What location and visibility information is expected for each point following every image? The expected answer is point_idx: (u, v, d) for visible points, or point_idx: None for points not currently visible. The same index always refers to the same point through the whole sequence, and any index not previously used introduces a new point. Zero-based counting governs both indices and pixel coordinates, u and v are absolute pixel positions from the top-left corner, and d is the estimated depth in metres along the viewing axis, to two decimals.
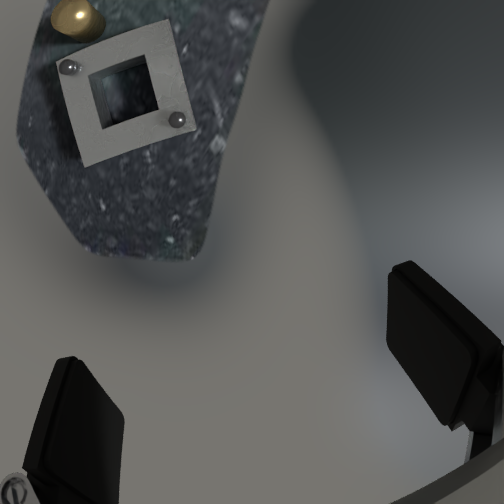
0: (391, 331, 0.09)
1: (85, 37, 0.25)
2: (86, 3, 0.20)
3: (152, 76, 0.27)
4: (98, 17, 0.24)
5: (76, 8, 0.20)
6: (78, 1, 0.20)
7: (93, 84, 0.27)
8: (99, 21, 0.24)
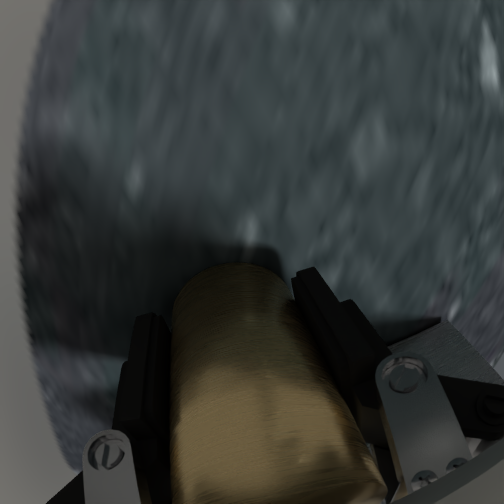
0: None
1: None
2: (383, 493, 0.04)
3: None
4: None
5: None
6: (345, 499, 0.04)
7: None
8: None
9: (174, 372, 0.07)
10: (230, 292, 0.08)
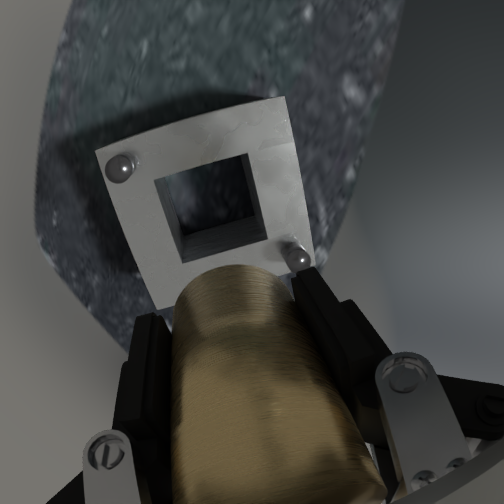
0: None
1: None
2: (383, 494, 0.04)
3: (259, 190, 0.20)
4: None
5: None
6: (345, 500, 0.04)
7: (160, 189, 0.21)
8: None
9: (175, 374, 0.07)
10: (231, 294, 0.08)
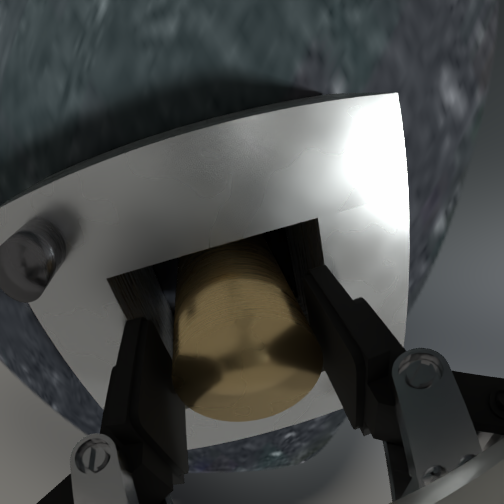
0: None
1: None
2: (318, 351, 0.08)
3: None
4: None
5: (279, 365, 0.08)
6: (286, 342, 0.08)
7: (127, 283, 0.10)
8: None
9: (179, 280, 0.11)
10: None
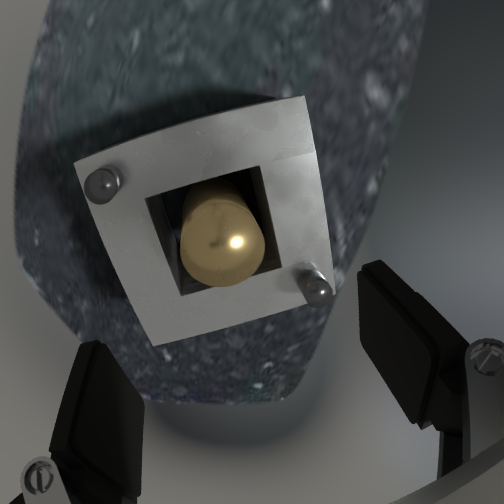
0: (363, 329, 0.09)
1: None
2: (260, 234, 0.15)
3: (273, 210, 0.17)
4: None
5: (239, 242, 0.15)
6: (241, 226, 0.15)
7: (153, 208, 0.17)
8: None
9: (185, 209, 0.18)
10: (209, 183, 0.19)
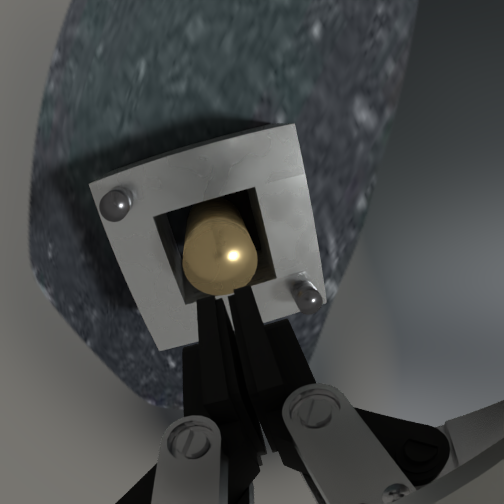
0: None
1: None
2: (253, 248, 0.17)
3: (268, 227, 0.19)
4: None
5: (234, 255, 0.17)
6: (236, 241, 0.17)
7: (160, 225, 0.19)
8: None
9: (187, 226, 0.20)
10: (209, 202, 0.21)
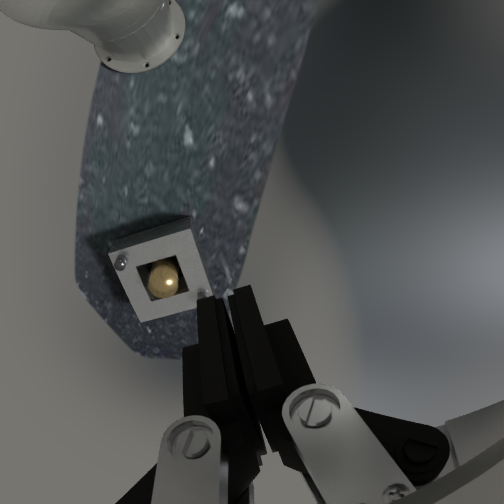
0: None
1: None
2: (175, 279, 0.42)
3: (183, 270, 0.44)
4: (177, 270, 0.46)
5: (168, 282, 0.42)
6: (168, 277, 0.42)
7: (139, 268, 0.44)
8: None
9: (151, 268, 0.45)
10: None
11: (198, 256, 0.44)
